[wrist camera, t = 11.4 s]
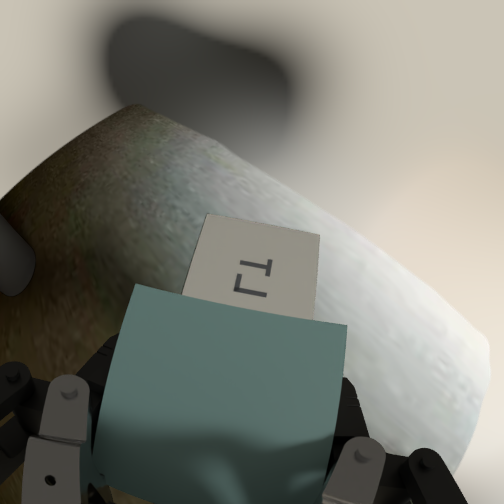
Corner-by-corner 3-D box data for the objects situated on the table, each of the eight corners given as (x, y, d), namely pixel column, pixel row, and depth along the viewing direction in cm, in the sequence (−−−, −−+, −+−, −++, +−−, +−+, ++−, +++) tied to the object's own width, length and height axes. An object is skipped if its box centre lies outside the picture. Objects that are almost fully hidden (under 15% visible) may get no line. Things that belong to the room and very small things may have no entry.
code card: (173, 323, 31) (173, 323, 30) (207, 213, 38) (207, 213, 38) (309, 349, 30) (309, 349, 30) (319, 235, 38) (320, 234, 38)
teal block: (168, 435, 13) (89, 476, 4) (188, 346, 16) (135, 283, 7) (267, 456, 13) (311, 525, 4) (284, 365, 16) (347, 325, 7)
